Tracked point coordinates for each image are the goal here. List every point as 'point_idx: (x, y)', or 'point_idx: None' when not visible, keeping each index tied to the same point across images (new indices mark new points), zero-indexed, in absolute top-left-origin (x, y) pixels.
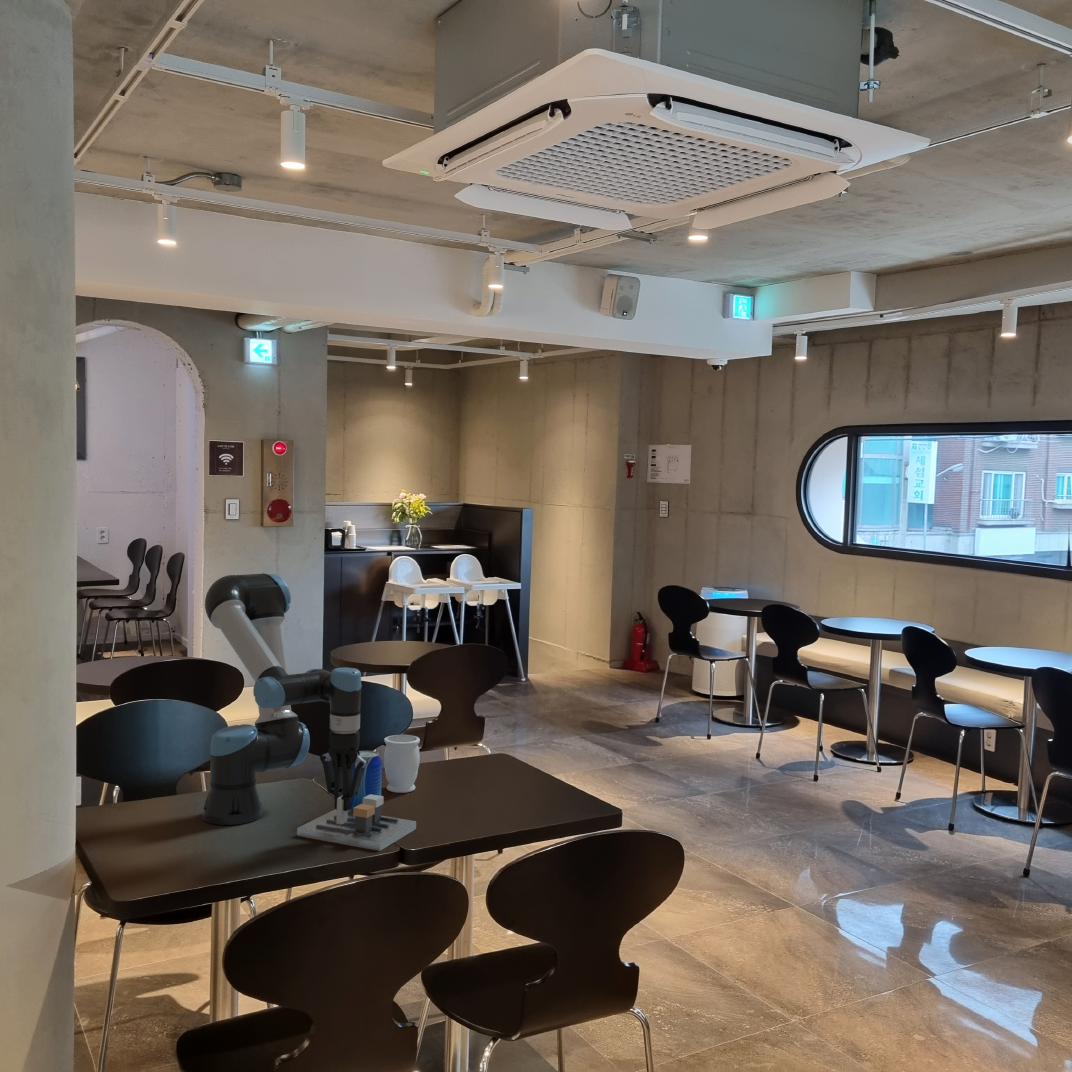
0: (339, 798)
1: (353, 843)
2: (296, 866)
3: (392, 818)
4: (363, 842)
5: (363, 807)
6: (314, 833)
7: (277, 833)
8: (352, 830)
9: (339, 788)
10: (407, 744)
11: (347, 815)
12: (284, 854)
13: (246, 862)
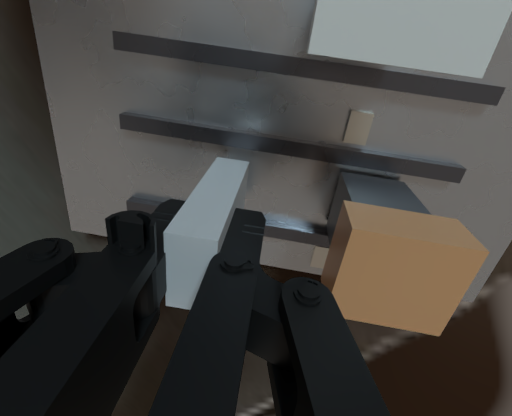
0: (185, 308)
1: None
2: (242, 400)
3: None
4: None
5: (397, 298)
6: None
7: (16, 209)
8: (302, 199)
9: (131, 354)
10: None
11: (244, 173)
12: (166, 348)
13: (121, 394)
